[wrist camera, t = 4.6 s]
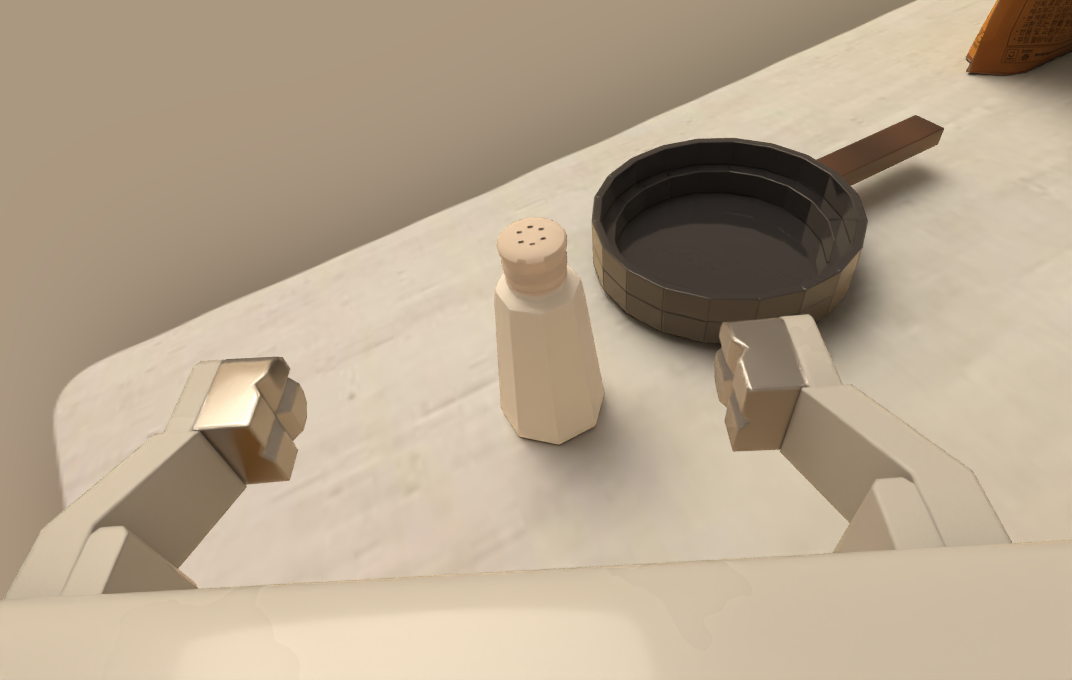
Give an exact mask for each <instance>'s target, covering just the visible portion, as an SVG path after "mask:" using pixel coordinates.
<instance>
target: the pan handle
mask: <svg viewBox="0 0 1072 680" xmlns="http://www.w3.org/2000/svg"><path fill="white" fill-rule="evenodd" d="M943 130H944V128H943V127H941V126H938V125H936V124H934V123H932V122H930V121H928V120H925V119H923V118H921V117H919V116H917V115H915V116H912V117H910V118H908V119H906V120H904V121H901V122H899V123H897V124H895V125H892V126H890V127H888V128H886V129H884V130H881V131H879V132H877V133H875V134H873V135H870V136H868V137H866V138H864V139H862V140H859V141H857V142H855V143H853V144H850V145H848V146H846V147H844V148H842V149H839V150H837V151H835V152H833V153H831V154H828V155H826V156H824V157H822V158H819V159H817V161H819V162H821V163H822V164H824V165H826V166H827V167H829V168H831V169H833V170H834V171H836V172H837V173H838V174H839V175H840V176H841V177H842V178H843V179H844V180H845V181H846V182H847V183H848V184H849V185H850V186H851V185H853V184H855V183H858V182H860V181H862V180H864V179H866V178H868V177H870V176H872V175H874V174H876V173H879V172H881V171H883V170H885V169H887V168H889V167H891V166H893V165H895V164H898V163H900V162H902V161H904V160H906V159H908V158H910V157H912V156H914V155H916V154H919V153H921V152H923V151H925V150H927V149H929V148H931V147H933V146H935V145H937V144H938V143H939V140H940V138H941V135H942V133H943Z"/></svg>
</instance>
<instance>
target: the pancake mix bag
mask: <svg viewBox="0 0 1072 680" xmlns="http://www.w3.org/2000/svg"><path fill="white" fill-rule="evenodd" d="M1071 51H1072V0H997V1H996V3H995V5H994V7H993V8H992V10H991V12H990V13H989V15H988V17H987V19H986V21H985V22H984V24H983V26H982V28H981V30H980V31H979V33H978V35H977V37H976V39H975V41H974V43H973V45H972V46H971V48H970V50H969V52H968V54H967V56H966V59H968V60H969V61H970V62H971V63H970V65H969V67H968V69H967V71H966V72H971V73H979V74H992V75H1012V74H1019V73H1026V72H1028V71H1030V70H1032V69H1034V68H1037V67H1039V66H1041V65H1043V64H1045V63H1047V62H1049V61H1052V60H1054V59H1056V58H1058V57H1061V56H1063V55H1065V54H1067V53H1069V52H1071Z"/></svg>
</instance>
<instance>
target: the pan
mask: <svg viewBox="0 0 1072 680" xmlns="http://www.w3.org/2000/svg"><path fill="white" fill-rule="evenodd" d="M867 223H868V220H867V217H866V214H865V211H864V209H863V206H862V203H861V200H860V197H859V195H858V194H857V193H856V191H855V190H854V189H853V188H852V187H851V186H850V185H849V184H848V183H847V182H846V181H845V180H844V179H843V178H842V177H841V176H840V175H839V174H838V173H837V172H836V171H834V170H833V169H831V168H829V167H827V166H826V165H824V164H822V163H821V162H819V161H817V160H815V159H814V158H812V157H810V156H809V155H806V154H803V153H800V152H797V151H794V150H791V149H788V148H785V147H782V146H779V145H776V144H772V143H766V142H759V141H752V140H745V139H738V138H711V139H694V140H688V141H683V142H678V143H673V144H668V145H663V146H660V147H657V148H655V149H652V150H650V151H648V152H645V153H643V154H640V155H638V156H635V157H633V158H631V159H630V160H628V161H627V162H626V163H624V164H623V165H622V166H620V167H619V168H618V169H616V170H615V171H614V172H612V173H611V174H610V175H609V176H608V177H607V178H606V180H605V181H604V183H603V185H602V186H601V188H600V189H599V191H598V192H597V194H596V195H595V197H594V204H593V214H592V241H593V263H594V266H595V269H596V271H597V274H598V277H599V279H600V282H601V284H602V287H603V289H604V290H605V291H606V292H607V293H608V294H609V295H610V296H611V297H612V298H613V299H614V300H615V301H616V302H617V303H618V305H619V306H620V307H621V308H622V309H623V310H624V311H625V312H627V313H628V314H630V315H631V316H633V317H635V318H637V319H639V320H641V321H643V322H644V323H646V324H648V325H650V326H652V327H654V328H655V329H657V330H659V331H662V332H664V333H668V334H672V335H676V336H680V337H684V338H688V339H692V340H696V341H700V342H704V343H721V342H720V338H719V333H720V327H721V325H722V323H723V321H734V320H746V319H757V318H768V317H782V316H794V315H806V314H809V315H810V316H811V317H813V318H814V321H815V322H817V321H819V320H821V319H823V318H824V317H826V316H827V315H828V314H829V313H830V311H831V310H832V309H833V308H834V307H835V305H836V304H837V303H838V302H839V301H840V299H841V298H842V297H843V296H844V295H845V293H846V292H847V289H848V287H849V284H850V281H851V278H852V276H853V273H854V270H855V267H856V264H857V262H858V259H859V256H860V253H861V250H862V248H863V243H864V238H865V233H866V228H867Z"/></svg>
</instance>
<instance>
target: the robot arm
mask: <svg viewBox="0 0 1072 680" xmlns="http://www.w3.org/2000/svg"><path fill="white" fill-rule="evenodd" d="M719 338H720V342H721V346H722V348H720V349H719V350H718V351H717V352H716V357H715V364H714V367H715V383H716V389H717V393H718V398H719V401H720V402H721V403H722V404H723V405H725V406H726V407H727V412H726V417H725V424H726V428H727V432H728V435H729V439H730V443H731V446H732V450H733V451H755V450H780V449H781V450H780V452H781V453H782V454H783V455H784V456H785V457H786V458H787V459H788V460H789V461H790V462H791V463H792V464H793V466H794V467H795V468H796V469H797V470H798V471H799V472H800V473H801V474H802V475H803V476H804V477H805V478H806V479H807V480H808V481H809V482H810V483H811V484H812V485H813V486H814V487H815V488H816V489H817V490H818V491H819V492H820V493H821V494H822V495H823V496H824V497H825V498H826V499H827V500H828V501H829V502H830V503H831V504H832V505H833V506H834V507H835V508H836V509H837V510H838V511H839V512H840V514H841V515H842V516H843V517H844V518H845V519H846V520H847V521H848V522H849V523H850V524H849V526H848V528H847V529H846V531H845V533H844V534H843V536H842V538H841V540H840V541H839V543H838V545H837V546H836V548H835V550H834V552H833V553H829V554H811V555H793V556H775V557H758V558H740V559H722V560H704V561H687V562H668V563H650V564H632V565H614V566H596V567H578V568H560V569H541V570H523V571H505V572H487V573H470V574H452V575H434V576H417V577H399V578H381V579H363V580H346V581H328V582H310V583H292V584H274V585H256V586H239V587H221V588H203V589H198V587H197V586H196V584H195V582H193V581H192V580H191V579H190V578H188V577H187V576H186V575H185V574H183V573H182V572H181V571H180V570H178V568H179V567H180V566H181V565H182V563H183V562H184V561H185V560H186V559H187V557H188V556H189V555H190V554H191V553H192V551H193V550H194V549H195V548H196V547H197V546H198V544H199V543H200V542H201V541H202V540H203V538H204V537H205V536H206V535H207V534H208V532H209V531H210V530H211V529H212V528H213V526H214V525H215V524H216V523H217V522H218V521H219V519H220V518H221V517H222V516H223V515H224V513H225V512H226V511H227V510H228V509H229V507H230V506H231V505H232V504H233V503H234V501H235V500H236V499H237V498H238V497H239V496H240V494H241V493H242V492H243V491H244V490H245V488H246V487H247V486H246V484H257V483H268V482H279V481H289V480H290V477H291V474H292V470H293V467H294V463H295V459H296V456H297V452H298V449H297V447H296V446H295V444H294V442H293V440H294V439H295V438H296V437H297V436H298V435H299V434H300V433H301V432H302V431H303V430H304V426H305V422H306V418H307V402H306V398H305V395H304V391H303V390H302V388H301V386H300V384H299V383H297V382H295V381H294V380H292V379H290V378H288V374H289V371H290V368H289V366H288V365H287V363H286V362H285V360H284V359H283V357H263V358H243V359H226V360H213V361H200V362H199V363H198V364H197V365H195V366H194V367H193V369H192V371H191V373H190V376H189V378H188V380H187V382H186V384H185V387H184V389H183V391H182V393H181V395H180V397H179V400H178V402H177V404H176V406H175V408H174V411H173V413H172V415H171V417H170V419H169V422H168V424H167V426H166V428H165V430H164V433H159V434H155V435H154V436H152V437H151V438H150V439H149V440H148V441H146V442H145V443H144V444H143V445H142V446H140V447H139V448H138V449H137V450H136V451H134V452H133V453H132V454H131V455H130V456H128V457H127V458H126V459H125V460H124V461H122V462H121V463H120V464H119V465H118V466H116V467H115V468H114V469H113V470H112V471H110V472H109V473H108V474H107V475H106V476H104V477H103V478H102V479H101V480H100V481H99V482H97V483H96V484H95V485H94V486H93V487H91V488H90V489H89V490H88V491H87V492H85V493H84V494H83V495H82V496H81V497H79V498H78V499H77V500H76V501H75V502H73V503H72V504H71V505H70V506H69V507H67V508H66V509H65V510H64V511H63V512H61V513H60V514H59V515H58V516H57V517H56V518H54V519H53V520H52V521H51V522H49V523H48V524H47V525H46V526H45V527H43V528H42V530H41V532H40V534H39V536H38V537H37V539H36V541H35V543H34V545H33V546H32V548H31V550H30V552H29V554H28V556H27V557H26V559H25V561H24V563H23V565H22V567H21V569H20V571H19V572H18V574H17V576H16V578H15V580H14V581H13V583H12V585H11V587H10V589H9V591H8V593H7V594H6V596H5V598H4V600H0V680H1072V540H1059V541H1042V542H1024V543H1012V542H1011V540H1010V538H1009V536H1008V534H1007V532H1006V531H1005V529H1004V527H1003V525H1002V523H1001V521H1000V520H999V518H998V516H997V514H996V512H995V510H994V509H993V507H992V505H991V503H990V501H989V499H988V498H987V496H986V494H985V492H984V490H983V488H982V487H981V485H980V483H979V481H978V479H977V477H976V476H975V474H974V472H973V471H972V470H971V469H969V468H968V467H966V466H965V465H964V464H962V463H961V462H959V461H958V460H957V459H955V458H954V457H952V456H951V455H950V454H948V453H947V452H945V451H944V450H943V449H941V448H940V447H938V446H937V445H936V444H934V443H933V442H931V441H930V440H929V439H927V438H926V437H924V436H923V435H922V434H920V433H919V432H917V431H916V430H915V429H913V428H912V427H910V426H909V425H908V424H906V423H905V422H903V421H902V420H901V419H899V418H898V417H896V416H895V415H894V414H892V413H891V412H889V411H888V410H887V409H885V408H884V407H882V406H881V405H880V404H878V403H877V402H875V401H874V400H873V399H871V398H870V397H868V396H867V395H866V394H864V393H863V392H861V391H860V390H859V389H857V388H856V387H854V386H853V385H852V384H851V385H843V384H842V381H841V379H840V377H839V375H838V372H837V370H836V368H835V366H834V363H833V361H832V359H831V357H830V354H829V352H828V350H827V348H826V345H825V343H824V341H823V339H822V336H821V334H820V332H819V330H818V327H817V325H816V323H815V321H814V318H813V317H811V316H810V315H809V314H806V315H794V316H782V317H768V318H757V319H746V320H734V321H723V323H722V325H721V327H720V333H719Z"/></svg>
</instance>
